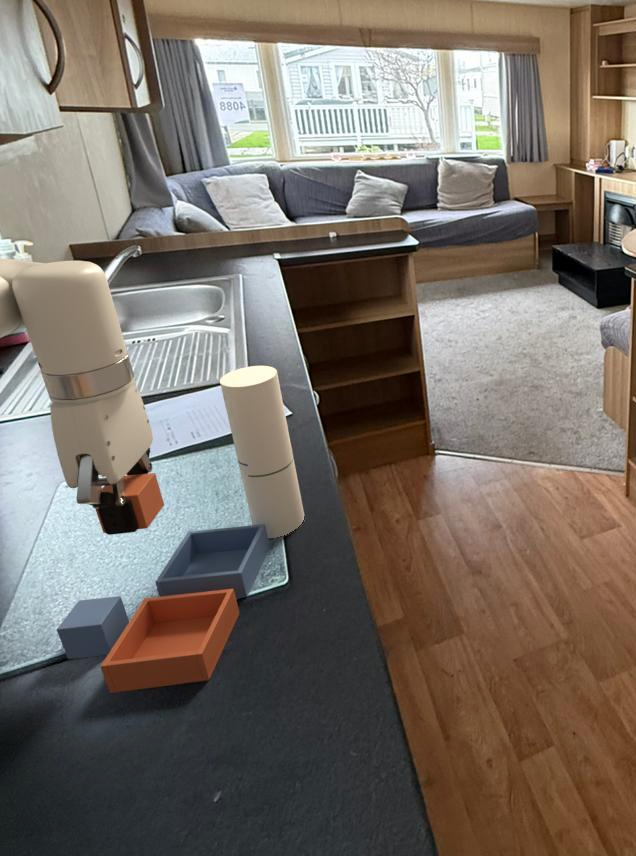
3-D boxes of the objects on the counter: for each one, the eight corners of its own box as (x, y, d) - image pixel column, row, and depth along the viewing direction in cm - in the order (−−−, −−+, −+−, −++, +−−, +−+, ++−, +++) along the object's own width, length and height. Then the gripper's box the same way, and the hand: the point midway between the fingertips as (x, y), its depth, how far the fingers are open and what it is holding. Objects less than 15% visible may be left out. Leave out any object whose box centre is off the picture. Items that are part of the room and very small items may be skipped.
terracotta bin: (109, 693, 72) (100, 666, 70) (152, 623, 81) (144, 598, 80) (209, 680, 74) (201, 653, 72) (239, 613, 83) (233, 588, 81)
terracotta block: (103, 533, 74) (91, 499, 72) (122, 509, 78) (112, 476, 76) (147, 528, 75) (137, 495, 73) (164, 504, 79) (155, 472, 77)
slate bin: (162, 606, 84) (155, 582, 82) (194, 554, 93) (188, 531, 92) (247, 597, 85) (241, 572, 84) (269, 546, 95) (265, 523, 93)
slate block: (67, 659, 76) (56, 629, 74) (89, 629, 80) (78, 600, 79) (111, 654, 77) (100, 624, 75) (130, 624, 81) (120, 595, 79)
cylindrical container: (283, 504, 104) (254, 362, 95) (315, 517, 101) (288, 371, 92) (243, 530, 98) (208, 380, 89) (275, 544, 95) (242, 390, 86)
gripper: (93, 349, 77) (133, 480, 83) (-2, 416, 61) (56, 571, 68) (162, 345, 78) (196, 474, 85) (87, 410, 63) (135, 561, 69)
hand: (133, 516), depth 76 cm, fingers closed on terracotta block, 4 cm apart
